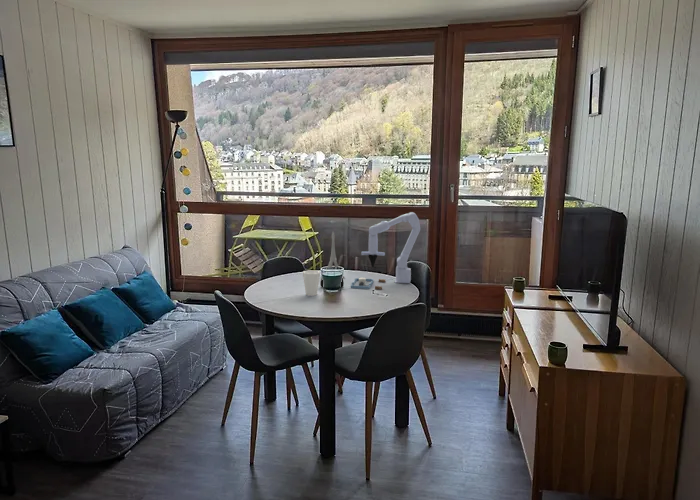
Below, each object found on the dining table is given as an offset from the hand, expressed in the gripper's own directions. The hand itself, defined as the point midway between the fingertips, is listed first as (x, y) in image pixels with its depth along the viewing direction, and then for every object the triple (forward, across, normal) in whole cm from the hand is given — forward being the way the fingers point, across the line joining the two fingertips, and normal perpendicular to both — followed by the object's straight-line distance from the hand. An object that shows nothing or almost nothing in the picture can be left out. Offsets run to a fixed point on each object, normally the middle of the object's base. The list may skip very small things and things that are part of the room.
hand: (372, 266), depth 313 cm
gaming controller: (+10, -22, -20) cm, 31 cm away
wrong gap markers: (+9, +6, -10) cm, 15 cm away
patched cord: (+10, -5, -10) cm, 15 cm away
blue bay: (+9, -5, -10) cm, 15 cm away
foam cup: (+10, -30, -38) cm, 49 cm away
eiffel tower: (+10, -27, +7) cm, 30 cm away
